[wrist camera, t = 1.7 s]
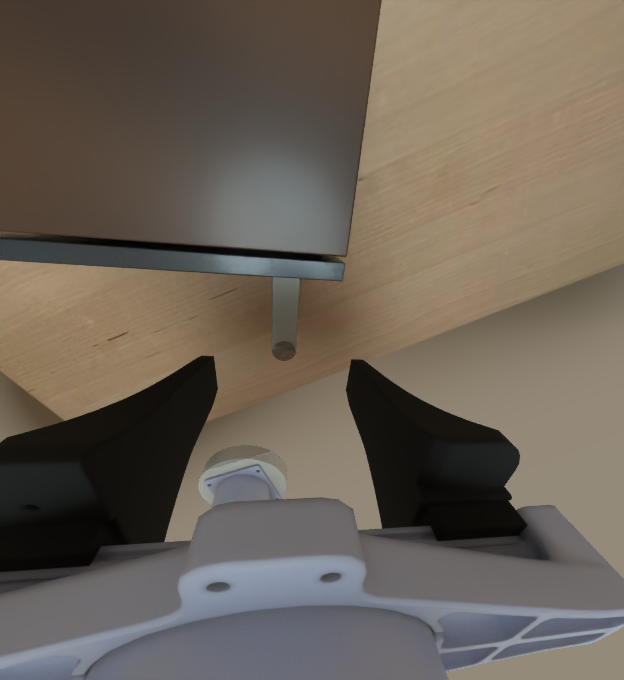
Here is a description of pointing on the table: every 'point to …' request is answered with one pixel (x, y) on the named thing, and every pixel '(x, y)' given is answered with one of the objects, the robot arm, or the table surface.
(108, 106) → the cabinet
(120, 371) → the table surface
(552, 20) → the table surface
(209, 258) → the door
